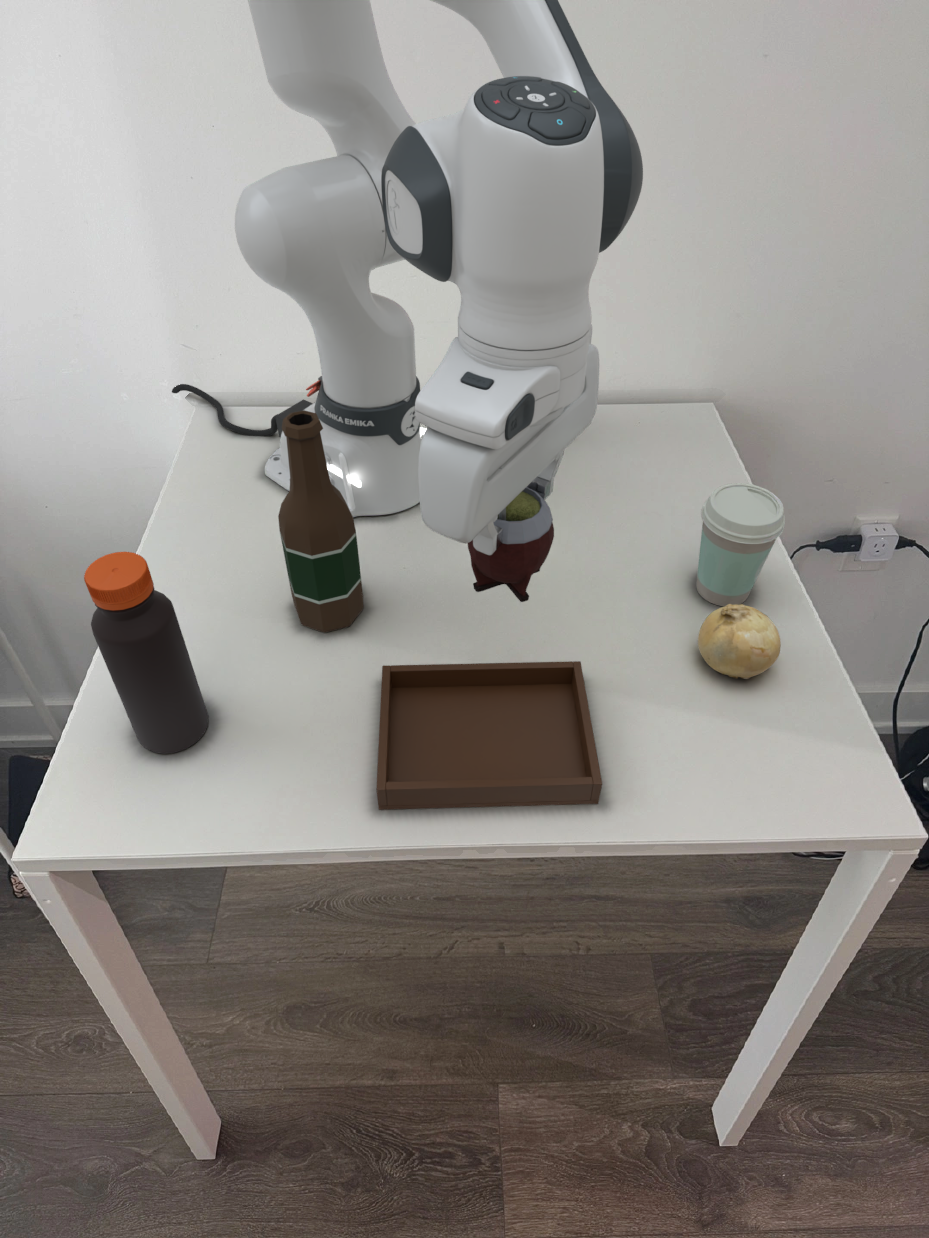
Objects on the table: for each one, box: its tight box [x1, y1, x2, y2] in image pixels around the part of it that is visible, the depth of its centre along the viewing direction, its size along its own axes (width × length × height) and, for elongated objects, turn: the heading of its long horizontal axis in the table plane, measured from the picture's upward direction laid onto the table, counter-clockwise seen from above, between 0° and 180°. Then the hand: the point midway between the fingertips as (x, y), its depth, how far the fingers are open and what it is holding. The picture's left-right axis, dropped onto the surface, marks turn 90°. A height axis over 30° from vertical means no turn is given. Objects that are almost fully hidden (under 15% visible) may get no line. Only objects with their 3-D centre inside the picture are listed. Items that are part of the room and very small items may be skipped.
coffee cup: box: [695, 482, 786, 607], centre depth 93 cm, size 9×8×12 cm
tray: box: [375, 660, 603, 811], centre depth 81 cm, size 20×15×3 cm
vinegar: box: [83, 551, 210, 755], centre depth 76 cm, size 7×7×20 cm
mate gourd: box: [467, 468, 555, 603], centre depth 68 cm, size 8×8×15 cm
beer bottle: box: [277, 410, 364, 634], centre depth 86 cm, size 8×8×24 cm
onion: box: [697, 603, 782, 680], centre depth 87 cm, size 8×8×7 cm
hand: (513, 521), depth 69 cm, fingers closed on mate gourd, 6 cm apart
